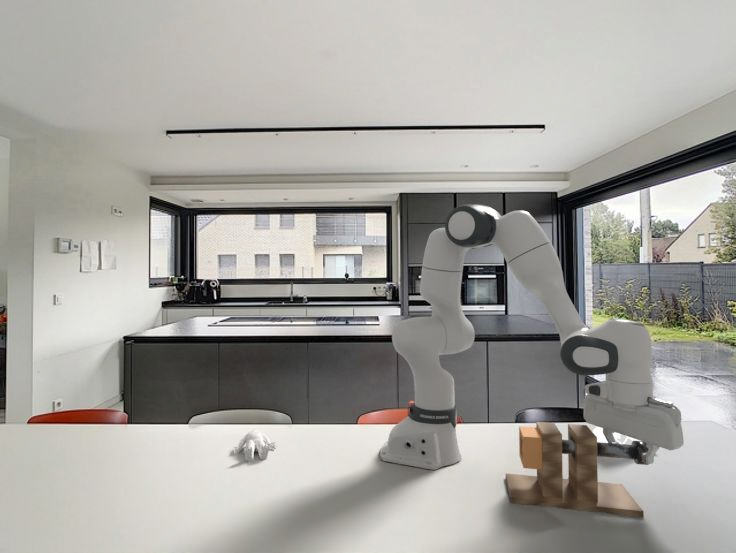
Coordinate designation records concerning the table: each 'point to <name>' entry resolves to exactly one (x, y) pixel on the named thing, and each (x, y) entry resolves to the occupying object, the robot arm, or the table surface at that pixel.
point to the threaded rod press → (570, 477)
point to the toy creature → (255, 445)
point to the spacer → (530, 448)
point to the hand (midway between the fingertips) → (629, 455)
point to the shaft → (612, 450)
